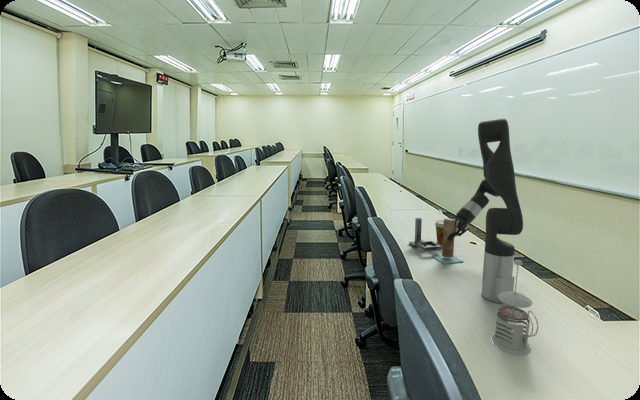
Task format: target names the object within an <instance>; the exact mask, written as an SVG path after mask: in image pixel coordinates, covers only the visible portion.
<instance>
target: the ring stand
mask: <svg viewBox="0 0 640 400" xmlns="http://www.w3.org/2000/svg"><path fill="white" fill-rule="evenodd" d="M422 220H423V219H422V218H421V217H415V223H414V224H415V225H414V226H415V227H414V241H409V242H408V244H409V246H411V247H412V248H414V249H420V250H421V251H423V252H424V253H425V252H433V251H434V252H435V251H442V245H441V244H439V243H437V242H434V241H433V240H426V241H425V240H423V239H422V224H423V223H422Z"/></svg>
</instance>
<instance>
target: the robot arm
mask: <svg viewBox="0 0 640 400" xmlns="http://www.w3.org/2000/svg"><path fill="white" fill-rule="evenodd" d="M509 128H510V126H509V122H508V120H507V119H506V118H504V117H503V118H494V119H489V120H482V121H480V122H479V123H478V127H477V136H478V143H479V148H480V154H481V158H482V166H483V167H482V169H483V177H484V179H482V180H481V182H480V184H479V186H478V188H477V190H476V191H475V193H474V194H473V196H472V197H471V198H470V199H469V200H468V201H467V202H466V203H464V205H463V206H462V207H461V208H460V209H459V210H458V211H457V212H456V214H455V216H456V217H454V218H453V219H454V220H455V227H454V230H453V232H452V233H451V234H450V235H449V236H448V237H447V240H448V241H451V240H453V238H454V239H455V238H456V237H461V236H462V235H463V234H465V233H466V232H467V231H469V230H470V227H469V226H468V225H470V224H471V223H472V222H473V221H474V220H475V219H476V218H477V217H478V216H479V215H480V213H481V212H482V211H483V209H484V208H486V206H487V205H488V204H489V203H490V199H489V197H487V196H486V195H485V194H489V195H491V196H493V197H496V198H498V197H500V198H501V200H503V202H504V205H505V207H491V208H490V207H489V208H488V210H487V211H486V214H485V236H484V237H485V238H484V239H485V240H484V241H485V242H484V253H483V268H482V280H481V281H482V282H481V296H482V298H484V299H486V300H488V301H491V302H493V303H495V304H504V303H503V302H501V301H500V300H499V298H498V294H499V293H502V292H508V291H513V292H514V290H515V279H516V277H515V276H514V275H513V271H514V261H515V253H516V249H515V246H514V245H513V244H511V243H510V242H507V241H504V240H502V239H500V238H499V237H498V235H507V236H508V235H509V236H510V235H511V236H517V235H520V234H521V233H522V232H523V228H524V218H523V213H522V209H521V206H520V205H521V204H520V201H519V196H518V192H517V185H516V176H515V168H514V163H513V159H512V157H513V156H512V151H511V143H510V142H511V139H510V129H509ZM496 142H499V143H498V145H497V148H496V149H495V150H494V151H493V150H492V149H491V147H490V146H489V145H488V143H496ZM448 219H452V218H450V217H449V218H448ZM440 236H441V237H442V238H443V232H442V233H441V234H440Z"/></svg>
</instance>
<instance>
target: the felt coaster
mask: <svg viewBox="0 0 640 400" xmlns="http://www.w3.org/2000/svg"><path fill="white" fill-rule="evenodd" d="M431 257H432V258H433V259H435V260H436V261H438V262H440V263H441V264H442V265H449V264H459V263H460V264H461V263H464V261H463V260H461V259H460V258H458V257H456V256H455V255H453V257H451V258H447V257H443V256H442V254H438V255H437V254H436V255H432V256H431Z"/></svg>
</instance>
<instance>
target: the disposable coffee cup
mask: <svg viewBox="0 0 640 400" xmlns="http://www.w3.org/2000/svg"><path fill="white" fill-rule="evenodd" d="M443 225H444V219H443V220H442V219H441V220H436V221H435V223H434V226H435V233H436V244H438V245H443V238H442V237H441V236H440V234H441V233H442V232H443Z"/></svg>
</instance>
